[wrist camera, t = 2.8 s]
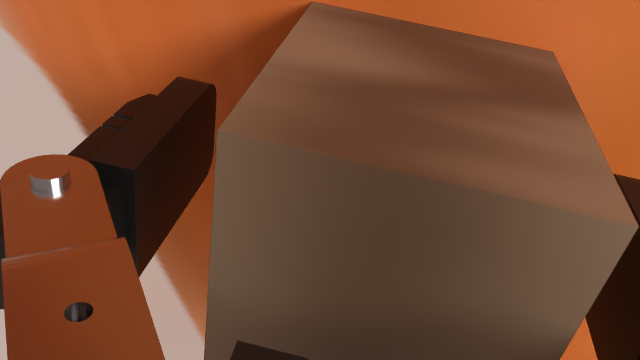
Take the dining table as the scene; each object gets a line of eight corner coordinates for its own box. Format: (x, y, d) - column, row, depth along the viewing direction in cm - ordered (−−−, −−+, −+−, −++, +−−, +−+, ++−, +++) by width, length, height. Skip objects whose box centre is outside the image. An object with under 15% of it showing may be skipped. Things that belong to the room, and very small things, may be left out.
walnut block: (552, 51, 11) (638, 226, 6) (477, 239, 14) (496, 465, 9) (313, 1, 12) (217, 130, 7) (285, 194, 14) (202, 387, 9)
